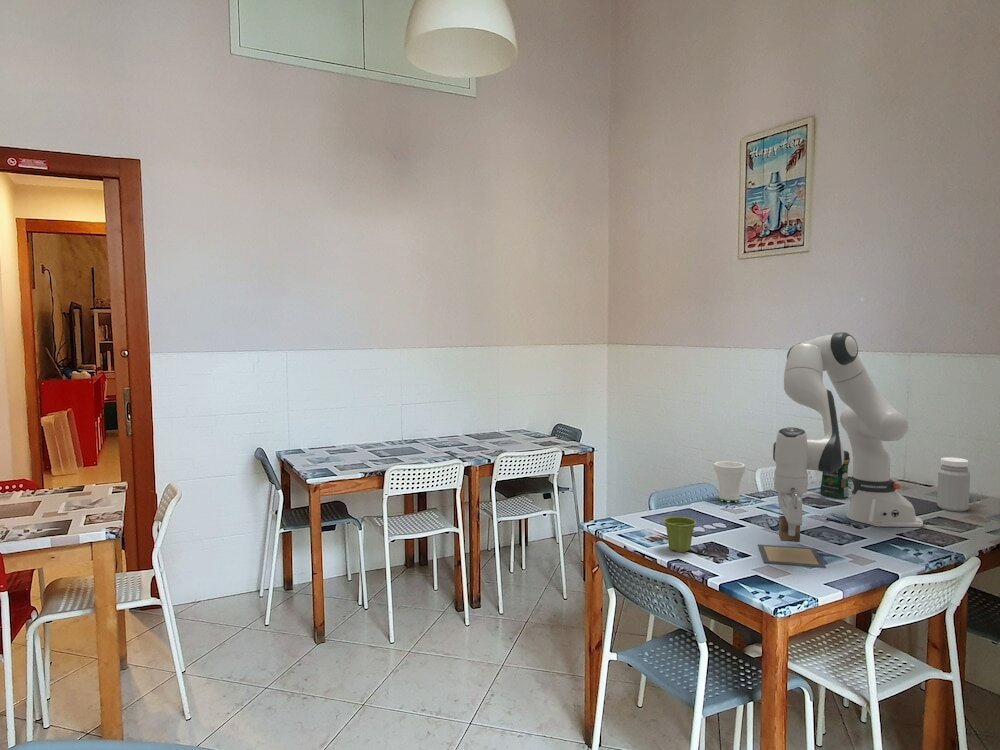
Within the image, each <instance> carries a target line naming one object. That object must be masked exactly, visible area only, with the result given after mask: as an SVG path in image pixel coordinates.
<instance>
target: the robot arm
mask: <svg viewBox="0 0 1000 750" xmlns="http://www.w3.org/2000/svg"><path fill="white" fill-rule="evenodd" d="M858 355H859V346H858V342H857V341H856V339H855V338H854V336H853V335H851V334H849V333H848V332H846V331H845V332H834V333H833V334H826V335H821V336H818V337H815V338H812V339H809V340H806V341H804V342H802V343H800V342H799V343H796V344H795V345H792V346H791V347H790V348H789V349H788V351H787V355H786V363H785V367H784V374H783V389H784V392H785V394H786V396H788V397H789V398H790V399H791V400H792V401H794V402H795V403H796V404H799V405H802V406H805V407H807V408H809V409H813V410H814V411H816V412H818V413H819V414H820V416H822V423H823V431H824V436H822V437H811V436H808V435H807V432H806V431H805V430H804V429H802V428H798V427H788V426H787V427H784V428H781V429H779V430H778V431H777V433H776V435H777V436H776V439H775V440H776V441H775V442H774V443H773V445H772V447H773V448H772V453H773V454H772V458H773V459H772V460H773V461H774V462H775V468H774V478H773V481H774V483H773V487H774V488H773V489H774V490H775V491H776V492H777V501H778V506H779V509H780V511H781V512H782V514H783V515H782V516H784V517H785V518H786V520H787V522H788V535H789V536H795V529H796V525H800V526H802V524H803V499H802V498H803V495H804V494H807V493H808V485H809V484H808V483H809V482H808V480H809V479H808V478H809V477H808V476H809V475H808V471H807V470H809V471H819V472H821V473H823V472H827V473H833V472H835V471H837V470H838V469H840V468H841V467H842V465H843V463H844V451H845V450H844V448H843V445H842V442H841V438H840V431H839V429H840V428H839V422H840V425H841V427H842V428H843V429H844V430H845V433H846V435H847V437H848V440H849V442H850V447H851V451H852V476H851V480H850V492H851V497H850V502H849V507H848V509H847V510H848V511H847V513H846V517H847V518H848V519H850V520H852V521H855V522H858V523H863V524H868V525H870V526H874V527H884V528H885V527H889V528H890V527H897V528H898V527H903V528H904V527H906V528H909V527H910V528H912V527H913V528H914V527H915V528H917V527H918V528H923V526H924V521H923V519H922V518H921V517H919V516H917V515H916V511H915V508H914V505H913V504H912V502H910V501H909V500H908V499H907V498H906V497H904V496H903V495H902V494H900V493H899V492H897V490H900V489H901V488H902V485H901V484H900V483H898V482H897V481H894V480H893V479H891V457H890V455H889V453H888V452H887V451H886V449H885V448H884V445H883V442H897V441H899V440H902V439H903V438H904V437H905V436H906V435H907V432H908V430H909V421H908V419H907V417H906V416H905V415H904V414H903V413H901V412H900V411H899V410H897V409H896V408H894V407H893V405H892V404H891V403H890V402H889V401H888V400H887V399H886V398H885V397H884V396H883V395H882V394H881V392H880V391H879V390H878V388H877V387H876V386H875V384H874V383H873V381H872V378H871V377H870V375H869V373H868V372H867V370H866V368H865V366H864V363H863V362H862V360H861V359H860V357H859V356H858ZM825 371H826V373H827V376H828V378H829V380H830V382H831V384H832V385H833V387H834V390H835V391H836V394H837V395H838V397H839V399H840V400H841V401H842V402H843V403H844V404H845V405H847V406H846V407H845V408H843V409H842V410H841V412H840V415H839V421H838V414H837V409H836V404H835V397H834V395H833V393H832V391H831V390H829V389H828V388H826V386H825V384H824V383H823V376H824V375H823V373H824V372H825Z"/></svg>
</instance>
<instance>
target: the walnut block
mask: <svg viewBox="0 0 1000 750" xmlns="http://www.w3.org/2000/svg"><path fill="white" fill-rule="evenodd" d="M778 537H779V539H780V541H781V542H790V543H792V542H793V543H800V542H801V525H796V529H795V536H789V535H788V522H787V520H786V518H785V517H784V515H778Z"/></svg>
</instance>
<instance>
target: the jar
mask: <svg viewBox="0 0 1000 750" xmlns="http://www.w3.org/2000/svg"><path fill="white" fill-rule="evenodd" d="M968 466H969V460H968V459H965V458H960V457H949V456H947V457H946V456H945V457H941V458H940V468H939V469H938V471H937V496H936V500H937V501H936V505H937V506H938V508H939V509H942V510H945V511H949V512H959V513H960V512H961V513H962V512H966V511H968V510H969V508H970V486H971V485H970V482H971V472H969V467H968Z"/></svg>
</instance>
